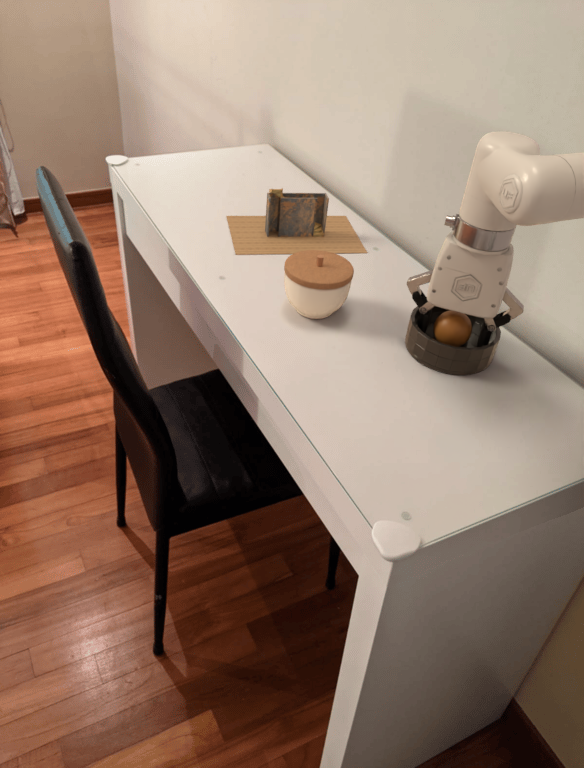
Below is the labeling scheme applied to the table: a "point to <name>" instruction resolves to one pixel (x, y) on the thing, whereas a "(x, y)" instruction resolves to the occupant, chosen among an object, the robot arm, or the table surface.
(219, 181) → the table surface
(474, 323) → the bowl
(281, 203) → the architectural model on board
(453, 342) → the orange ball
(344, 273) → the trinket box
